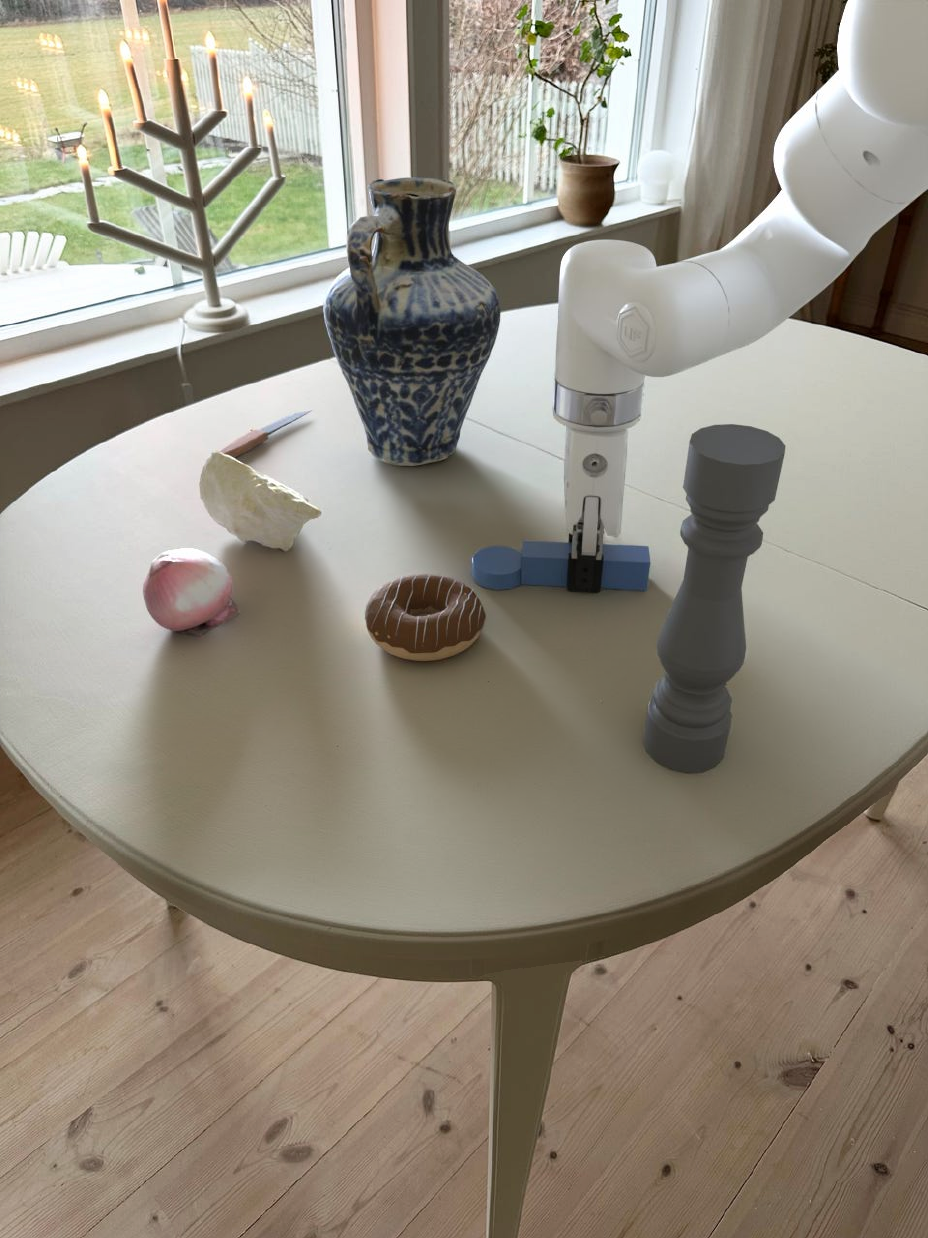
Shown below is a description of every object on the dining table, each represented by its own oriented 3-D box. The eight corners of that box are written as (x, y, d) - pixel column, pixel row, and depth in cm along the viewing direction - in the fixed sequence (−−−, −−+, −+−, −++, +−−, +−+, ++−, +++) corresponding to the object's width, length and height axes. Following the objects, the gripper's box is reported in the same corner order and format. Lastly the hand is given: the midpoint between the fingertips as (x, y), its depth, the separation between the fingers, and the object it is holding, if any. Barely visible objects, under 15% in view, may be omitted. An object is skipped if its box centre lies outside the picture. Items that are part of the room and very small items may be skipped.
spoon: (644, 567, 91) (648, 539, 89) (647, 597, 86) (651, 569, 85) (474, 559, 92) (474, 531, 90) (469, 588, 88) (469, 560, 86)
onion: (176, 592, 88) (160, 527, 84) (253, 600, 87) (241, 534, 82) (138, 643, 81) (119, 575, 77) (220, 651, 80) (206, 583, 76)
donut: (341, 636, 82) (337, 599, 80) (424, 586, 88) (423, 550, 86) (426, 688, 76) (425, 650, 74) (509, 631, 82) (510, 594, 80)
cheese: (212, 521, 103) (148, 496, 88) (243, 463, 102) (184, 428, 88) (328, 585, 100) (283, 571, 86) (360, 526, 100) (321, 501, 85)
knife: (294, 402, 122) (312, 406, 120) (294, 409, 122) (312, 414, 121) (205, 450, 110) (224, 456, 109) (207, 458, 111) (226, 464, 109)
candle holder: (664, 780, 67) (715, 472, 53) (629, 725, 72) (667, 429, 58) (740, 763, 69) (811, 458, 54) (701, 710, 74) (756, 417, 59)
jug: (377, 409, 122) (360, 159, 104) (518, 428, 117) (525, 169, 99) (305, 478, 106) (271, 198, 89) (463, 504, 101) (461, 212, 83)
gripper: (648, 442, 71) (625, 632, 82) (637, 364, 84) (619, 536, 95) (550, 438, 72) (541, 627, 83) (555, 361, 85) (546, 533, 96)
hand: (583, 577), depth 89 cm, fingers open, 3 cm apart
